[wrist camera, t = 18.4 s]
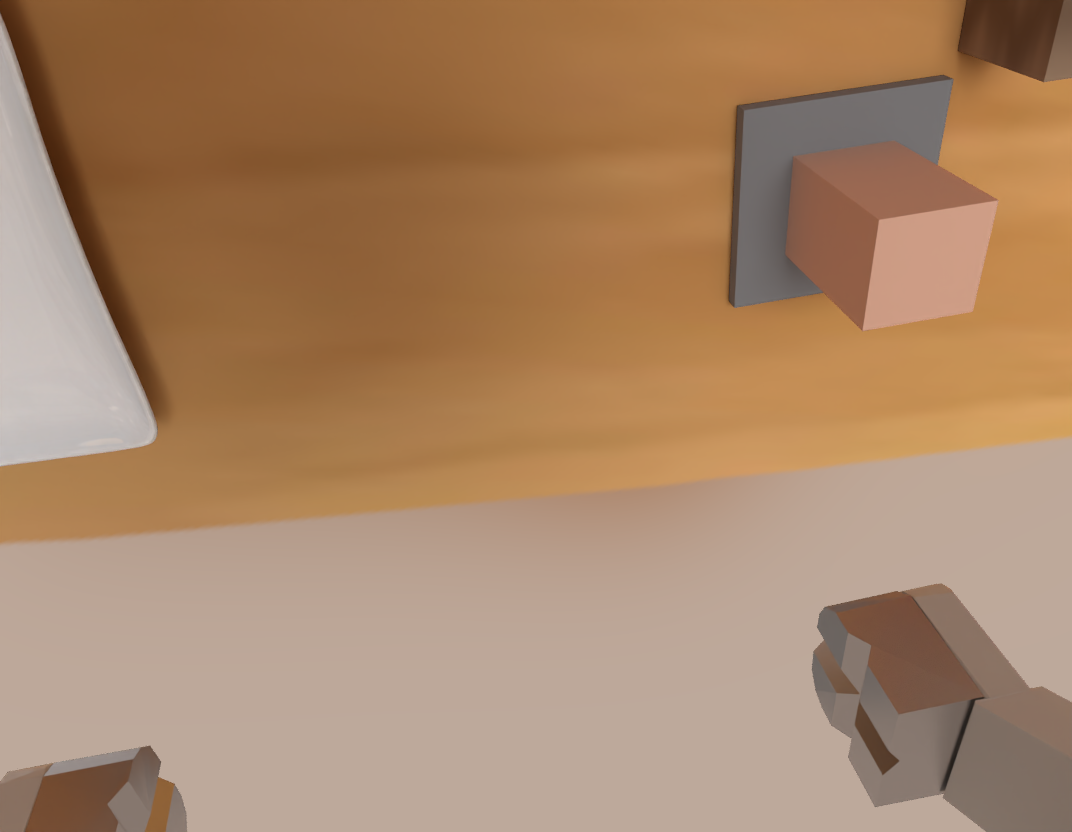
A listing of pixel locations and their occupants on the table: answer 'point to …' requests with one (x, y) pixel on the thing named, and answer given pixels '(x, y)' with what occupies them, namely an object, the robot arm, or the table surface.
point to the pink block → (888, 233)
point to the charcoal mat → (804, 129)
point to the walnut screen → (1021, 36)
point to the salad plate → (53, 311)
